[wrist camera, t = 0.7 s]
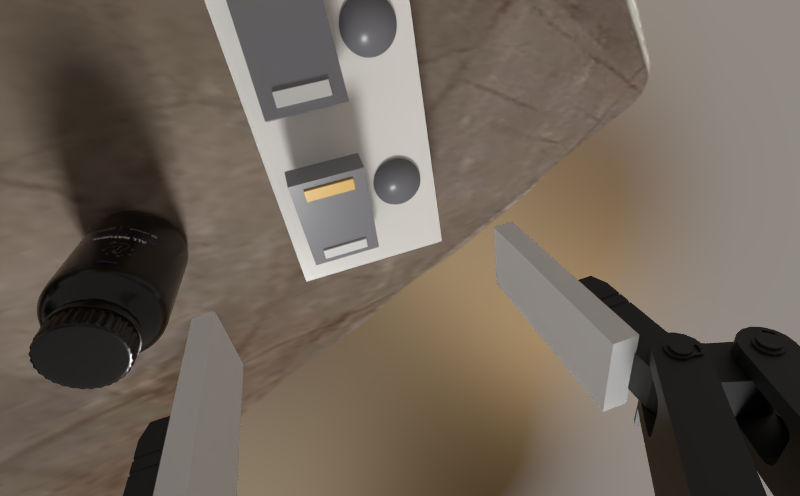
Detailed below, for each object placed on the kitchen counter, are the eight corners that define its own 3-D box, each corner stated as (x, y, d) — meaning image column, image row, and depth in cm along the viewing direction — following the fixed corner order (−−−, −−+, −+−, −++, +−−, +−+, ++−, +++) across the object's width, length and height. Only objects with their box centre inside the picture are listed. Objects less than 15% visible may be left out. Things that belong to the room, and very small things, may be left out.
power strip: (301, 249, 36) (307, 288, 31) (95, -336, 19) (37, -452, 14) (422, 214, 38) (445, 246, 33) (332, -356, 21) (354, -466, 16)
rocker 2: (312, 249, 31) (316, 266, 29) (284, 171, 25) (287, 189, 24) (373, 232, 31) (379, 248, 30) (357, 152, 26) (364, 168, 25)
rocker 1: (267, 122, 24) (264, 121, 22) (223, -17, 22) (216, -29, 20) (346, 103, 24) (349, 101, 23) (310, -34, 22) (311, -47, 21)
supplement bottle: (148, 191, 31) (94, 284, 21) (207, 260, 35) (184, 366, 25) (63, 235, 31) (-34, 348, 21) (131, 298, 34) (78, 421, 24)
